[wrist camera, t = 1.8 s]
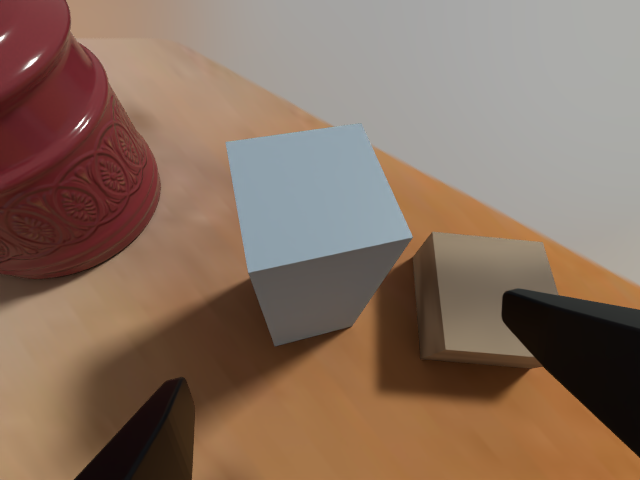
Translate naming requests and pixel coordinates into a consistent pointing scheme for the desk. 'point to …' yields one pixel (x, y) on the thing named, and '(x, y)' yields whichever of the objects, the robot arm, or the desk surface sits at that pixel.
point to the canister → (64, 150)
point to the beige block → (474, 296)
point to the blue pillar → (315, 226)
